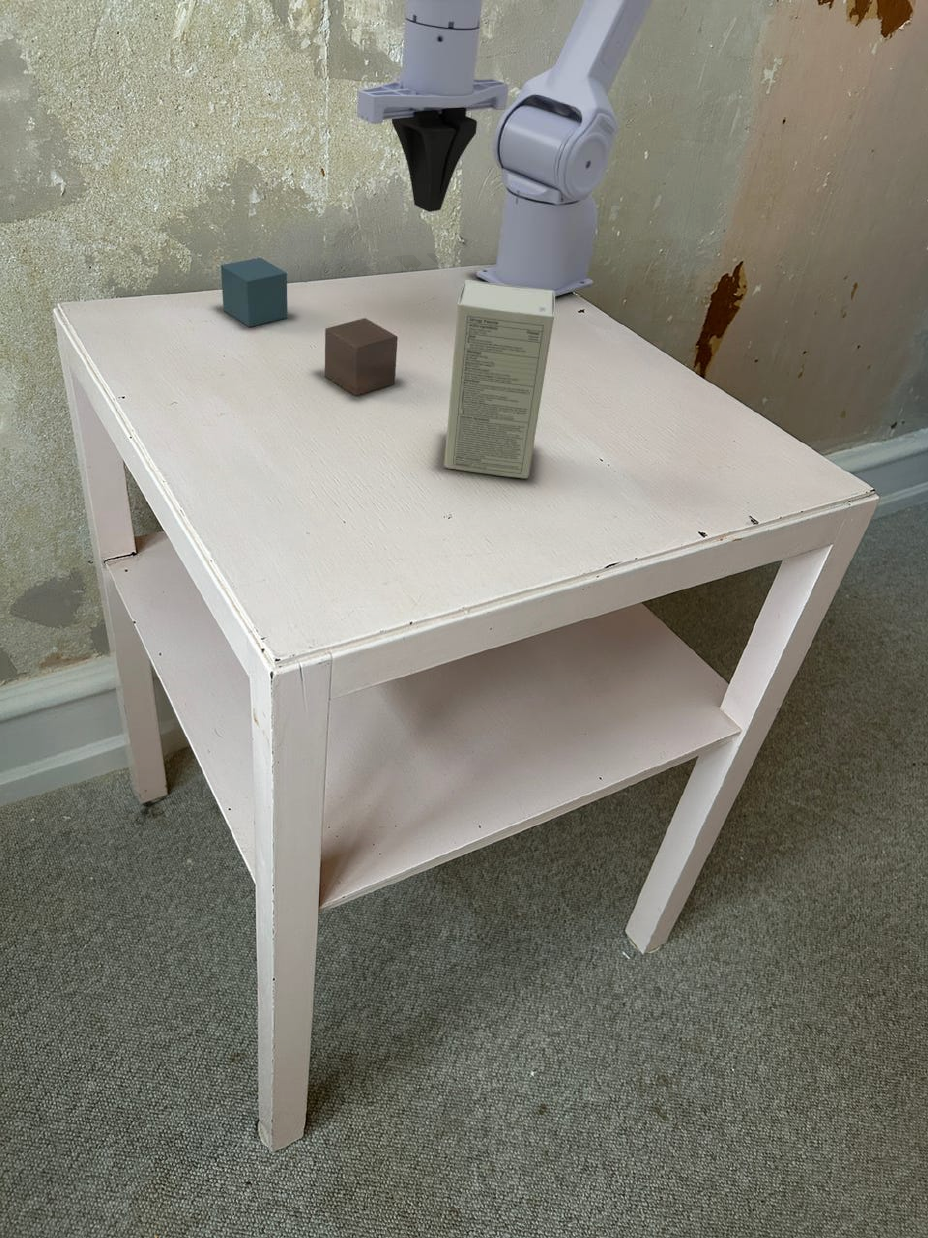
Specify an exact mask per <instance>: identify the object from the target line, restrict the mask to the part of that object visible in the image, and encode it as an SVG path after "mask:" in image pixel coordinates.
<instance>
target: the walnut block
mask: <svg viewBox="0 0 928 1238" xmlns="http://www.w3.org/2000/svg"><path fill="white" fill-rule="evenodd" d="M398 338H399V337H398V335H395V333H392V332H391V331H389V330H388V329H385V328H383V327H382V326H380V325H378V324H376V323H375V322H373V321H371V320H369V319H368V318H366V317H364V318H360V319H356V320H352V321H348V322H345V323H341V324H337V325H333V326H330V327H326V328H325V329H324V377H325V378H327V379H328V380H330V381H331V382H333V383H335V384H337V386H339V387H341V388H342V389H344V390H345V391H347V392H349V393H350V394H352V395H353V396H355V397H357V396H360V395H364V394H367V393H371V392H373V391H376V390H379V389H383V388H386V387H389V386H392V385H394V384H395V383H396V369H397V355H398V353H397V352H398Z"/></svg>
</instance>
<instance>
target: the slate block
mask: <svg viewBox="0 0 928 1238" xmlns="http://www.w3.org/2000/svg"><path fill="white" fill-rule="evenodd" d="M220 274H221V291H222V309H223V311H224V312H225V313H226V314H228V315H230V316H231V317H233V318H234V319H236V320H238V321H239V322H241V323H242V324H243V325H244V326H246V327H248V328H251V327H256V326H259V325H263V324H268V323H272V322H275V321H276V322H277V321H280V320H285V319H288V272H286V271H284V270H282V269H281V268H280V267H277V266H276V265H274V264H272V263H270V262H268V261H267V260H265V259H264V258H262V257H256V258H251V259H246V260H245V259H244V260H241V261H235V262H231V263H225V264H221V265H220Z"/></svg>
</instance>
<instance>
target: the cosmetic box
mask: <svg viewBox="0 0 928 1238" xmlns="http://www.w3.org/2000/svg"><path fill="white" fill-rule="evenodd" d="M555 310H556V296H555V292H554V291H552V290H544V289H536V288H528V287H520V286H512V285H504V284H495V283H490V282H488V281H479V280H472V279H471V280H470V279H465V280H464V282H463V285H462V288H461V291H460V295H459V298H458V302H457V312H456V323H455V324H456V325H455V335H454V348H453V359H452V372H451V381H450V394H449V403H448V404H449V407H448V416H447V417H448V418H447V427H446V428H447V429H446V438H445V451H444V462H443V466H444V468H446V469H451V470H457V471H465V472H471V473H479V474H487V475H493V476H500V477H507V478H508V477H509V478H518V479H519V478H520V479H528V478H529V476H530V470H531V463H532V457H533V451H534V445H535V439H536V432H537V427H538V419H539V413H540V409H541V401H542V394H543V388H544V383H545V377H546V371H547V363H548V356H549V351H550V344H551V338H552V332H553V326H554V319H555V312H556V311H555Z"/></svg>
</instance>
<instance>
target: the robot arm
mask: <svg viewBox="0 0 928 1238" xmlns="http://www.w3.org/2000/svg"><path fill="white" fill-rule="evenodd" d="M653 2H654V0H584V1H583V4H582V6H581V8H580V11H579V13H578V15H577V17H576V19H575V21H574V23H573V25H572V28H571V30H570V32H569V34H568V36H567V38H566V40H565V43H564V45H563V47H562V50H561V51H560V53H559V55H558V58H557V60H556V62H555V64H554V66H553V67H551V68H549V69H547V70H546V71H544V72H542V73H540V74H538V75H535V76H534V77H532V78H530V79H529V80H527V81H526V82H524V83H523V86H522V88H521V90H520V92H519V94H518V96H517V97H516V99H515V101H514V102H513V103H512V104H511V105H510V106H509V107H508V108H507V104H508V103H507V102H508V94H509V87H510V85H509V84H508V83H506V82H503V81H500V80H497V79H494V78H483V79H482V78H481V79H480V78H478V79H477V78H475V75H476V65H477V57H478V56H477V54H478V48H479V47H478V44H479V36H480V35H479V34H480V27H481V16H482V6H483V0H405V10H404V11H405V12H404V13H405V14H404V28H403V29H404V30H403V45H402V46H403V48H402V61H401V62H402V64H401V74H400V75H397V76H396V81H393V82H389V83H386V84H385V83H384V84H382V85H379V86H375V87H370V88H364V89H363V88H362V89H358V90H357V111H356V112H357V114H356V117H357V119H360V120H363V121H365V122H367V123H370V124H372V125H378V124H383V123H384V121H386V120H391V124H392V127H393V128H394V130H395V133H396V135H397V137H398V140H399V142H400V145H401V147H402V150H403V153H404V157H405V160H406V164H407V169H408V173H409V178H410V184H411V191H412V197H413V204H414V206H415V207H418V208H419V209H422V210H424V211H426V212H436V211H441V209H442V207H443V204H444V201H445V198H446V195H447V191H448V189H449V186H450V183H451V180H452V178H453V175H454V173H455V170H456V168H457V165H458V163H459V161H460V159H461V157H462V156H463V154H464V151H465V150H466V148H467V147H468V145H469V144H470V143H471V141H472V139H473V138H474V137H475V136H476V133H477V127H478V121H477V120H476V119H474V118H472V117H469V116H467V112H470V111H480V110H489V109H493V110H495V111H504V110H505V111H504V113H503V114H502V116H501V117H500V119H499V120H498V123H497V125H496V128H495V132H494V136H493V141H492V142H493V143H492V151H493V158H494V161H495V164H496V166H498V168H499V170H500V171H502V172H501V177H500V178H501V180H500V182H501V183H503V184H505V186H506V187H505V192H504V193H505V194H504V202H503V210H502V218H501V224H500V233H499V240H498V247H497V255H496V263H495V266H490V267H487V268H483V269H478V270H476V273H475V274H476V277H477V278H480V279H482V280H484V281H485V282H487V283H495V284H504V285H512V286H520V287H528V288H536V289H544V290H552V291H554V292H555V297H559V296H562V295H565V294H568V293H572V292H576V291H579V290H582V289H587V288H589V287H592V286H593V285H594V280H593V279H591V278H588V275H589V270H590V264H591V260H592V256H593V255H592V254H593V249H594V245H595V238H596V234H597V229H598V223H599V213H598V207H597V203H596V200H595V199H594V197H593V195H592V193H593V191H594V190H595V189H596V188H597V187H598V185H599V184H600V182H601V181H602V179H603V177H604V175H605V172H606V170H607V166H608V161H609V155H610V152H611V147H612V144H613V143H614V140H615V137H616V136H617V133H618V131H619V124H618V121H617V117H616V115H615V111H614V110H613V108H612V105H611V103H610V100H609V98H608V94H609V92H610V90H611V88H612V86H613V84H614V82H615V80H616V77H617V75H618V73H619V71H620V69H621V67H622V65H623V63H624V61H625V59H626V57H627V55H628V53H629V51H630V48H631V47H632V45H633V42H634V41H635V39H636V37H637V34H638V32H639V30H640V28H641V27H642V24H643V22H644V19H646V16H647V14H648V11H649V9H650V8H651V6H652V3H653Z"/></svg>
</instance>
